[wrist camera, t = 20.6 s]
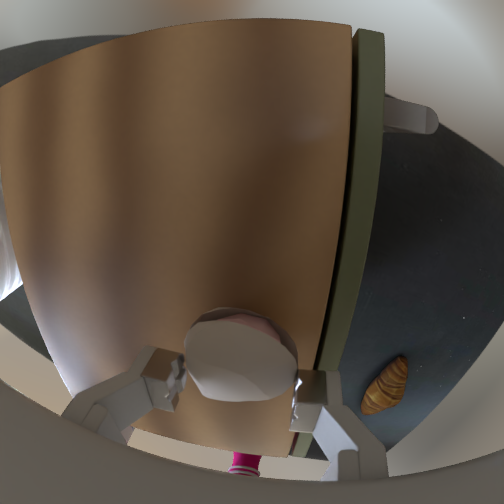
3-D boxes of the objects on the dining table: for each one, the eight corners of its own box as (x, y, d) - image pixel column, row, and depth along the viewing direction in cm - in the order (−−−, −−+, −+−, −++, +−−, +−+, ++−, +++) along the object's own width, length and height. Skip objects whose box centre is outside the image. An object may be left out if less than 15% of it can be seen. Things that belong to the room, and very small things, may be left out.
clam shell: (319, 332, 11) (321, 380, 8) (251, 395, 13) (242, 437, 10) (221, 275, 10) (201, 315, 8) (171, 353, 12) (150, 392, 10)
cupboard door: (373, 107, 25) (507, 78, 6) (348, 295, 34) (380, 455, 14) (315, 99, 26) (357, 27, 6) (299, 291, 35) (291, 456, 15)
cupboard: (313, 99, 26) (351, 24, 6) (297, 290, 35) (287, 458, 15) (165, 99, 28) (-1, 87, 8) (172, 276, 37) (76, 404, 17)
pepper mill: (247, 398, 45) (223, 503, 26) (283, 413, 45) (270, 514, 27) (228, 415, 48) (202, 508, 29) (261, 428, 48) (245, 520, 30)
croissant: (380, 408, 42) (384, 430, 38) (347, 405, 43) (349, 428, 38) (420, 355, 37) (429, 377, 32) (383, 349, 37) (390, 374, 32)
